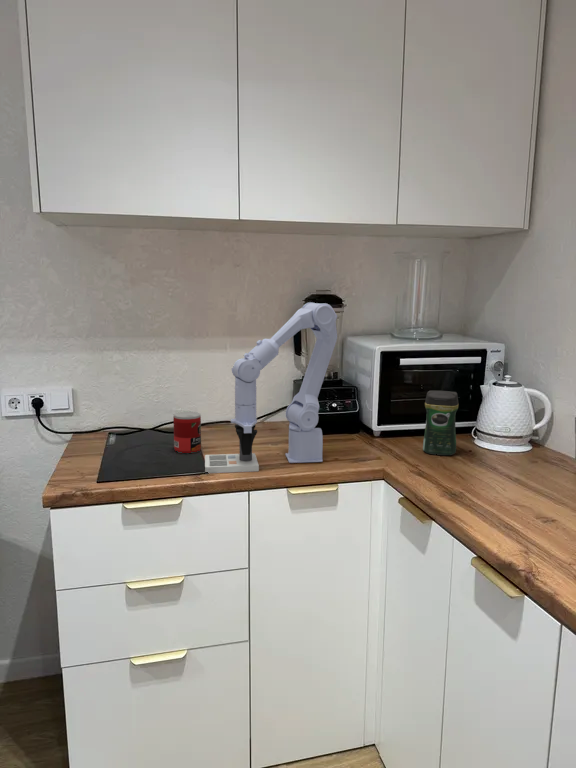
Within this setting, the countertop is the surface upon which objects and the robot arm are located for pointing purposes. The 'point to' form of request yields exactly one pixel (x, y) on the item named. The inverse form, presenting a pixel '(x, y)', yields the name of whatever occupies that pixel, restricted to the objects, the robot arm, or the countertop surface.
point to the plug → (244, 457)
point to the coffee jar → (440, 422)
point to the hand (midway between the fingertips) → (245, 452)
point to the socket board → (229, 463)
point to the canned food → (187, 431)
